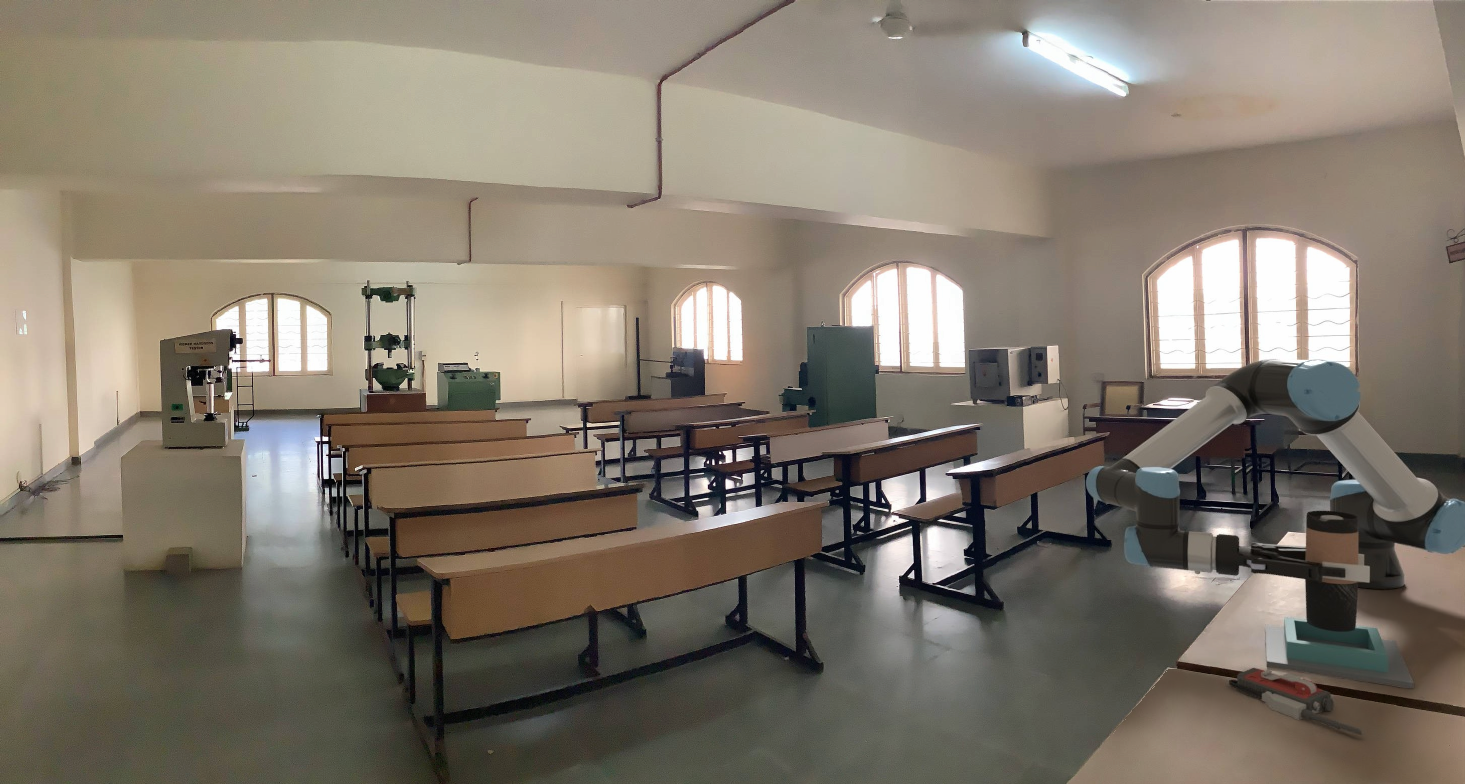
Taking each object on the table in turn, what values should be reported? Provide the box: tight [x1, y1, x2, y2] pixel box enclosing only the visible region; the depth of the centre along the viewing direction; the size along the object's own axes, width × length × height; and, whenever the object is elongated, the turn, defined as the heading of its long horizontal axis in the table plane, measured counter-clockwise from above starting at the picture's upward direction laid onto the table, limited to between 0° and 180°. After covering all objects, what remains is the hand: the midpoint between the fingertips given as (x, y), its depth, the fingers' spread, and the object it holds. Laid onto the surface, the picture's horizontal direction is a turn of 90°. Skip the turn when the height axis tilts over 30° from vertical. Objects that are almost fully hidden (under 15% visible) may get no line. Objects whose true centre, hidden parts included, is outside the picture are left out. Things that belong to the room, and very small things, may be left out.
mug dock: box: [1264, 616, 1415, 690], centre depth 146 cm, size 20×20×4 cm
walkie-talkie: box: [1228, 667, 1363, 736], centre depth 128 cm, size 9×4×20 cm
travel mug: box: [1304, 510, 1359, 632], centre depth 145 cm, size 8×8×20 cm
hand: (1366, 567), depth 142 cm, fingers closed on travel mug, 7 cm apart
